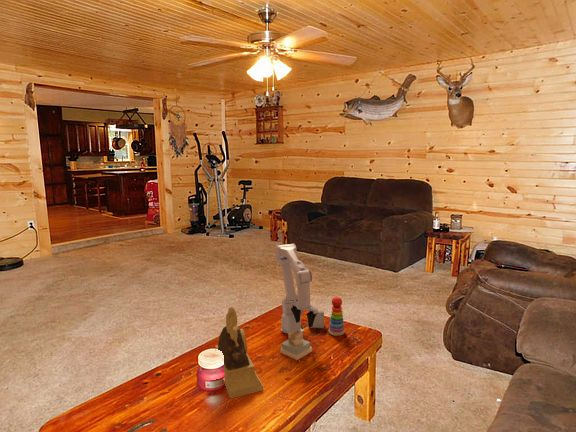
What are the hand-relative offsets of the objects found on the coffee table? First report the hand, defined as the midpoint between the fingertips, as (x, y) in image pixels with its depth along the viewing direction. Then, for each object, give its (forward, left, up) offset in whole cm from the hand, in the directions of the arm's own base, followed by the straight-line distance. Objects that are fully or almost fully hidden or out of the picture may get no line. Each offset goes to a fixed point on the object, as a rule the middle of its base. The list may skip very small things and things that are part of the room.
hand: (304, 324), depth 179 cm
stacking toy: (+4, +20, -11) cm, 23 cm away
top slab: (+1, -7, -9) cm, 11 cm away
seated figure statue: (-5, -36, -11) cm, 38 cm away
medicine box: (-8, +19, -11) cm, 23 cm away
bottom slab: (+1, -7, -11) cm, 13 cm away
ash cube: (+1, -7, -6) cm, 9 cm away
